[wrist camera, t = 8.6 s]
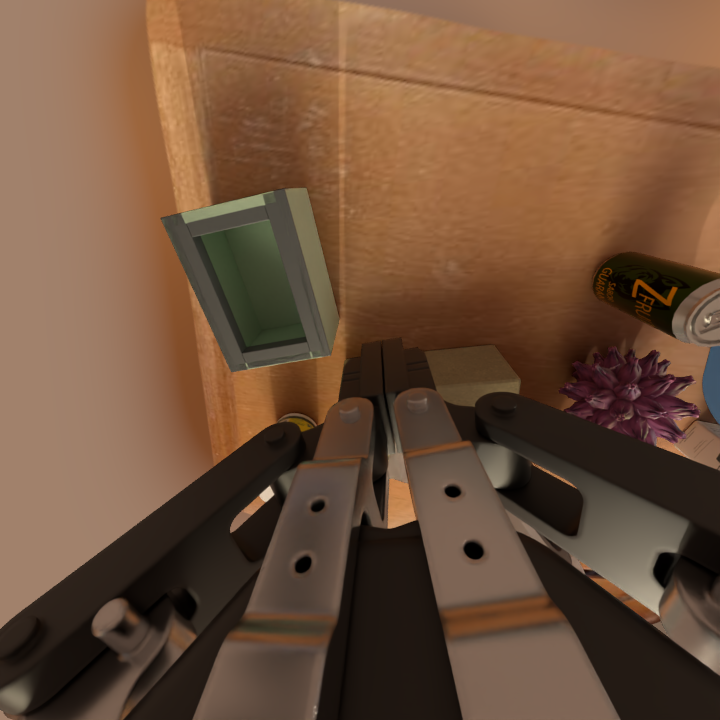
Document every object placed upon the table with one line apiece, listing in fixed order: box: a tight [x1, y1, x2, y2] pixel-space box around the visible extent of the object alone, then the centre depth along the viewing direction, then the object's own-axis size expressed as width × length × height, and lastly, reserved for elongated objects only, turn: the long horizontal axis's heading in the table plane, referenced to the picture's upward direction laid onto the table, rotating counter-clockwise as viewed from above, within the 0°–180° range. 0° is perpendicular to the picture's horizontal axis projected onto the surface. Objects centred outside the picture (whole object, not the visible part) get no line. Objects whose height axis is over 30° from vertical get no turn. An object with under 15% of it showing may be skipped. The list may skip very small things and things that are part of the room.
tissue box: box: [339, 345, 521, 483], centre depth 34 cm, size 19×10×16 cm, turn 98°
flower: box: [559, 346, 701, 446], centre depth 35 cm, size 12×12×12 cm
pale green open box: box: [161, 188, 340, 372], centre depth 31 cm, size 14×9×10 cm
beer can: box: [592, 252, 720, 347], centre depth 29 cm, size 5×5×12 cm
